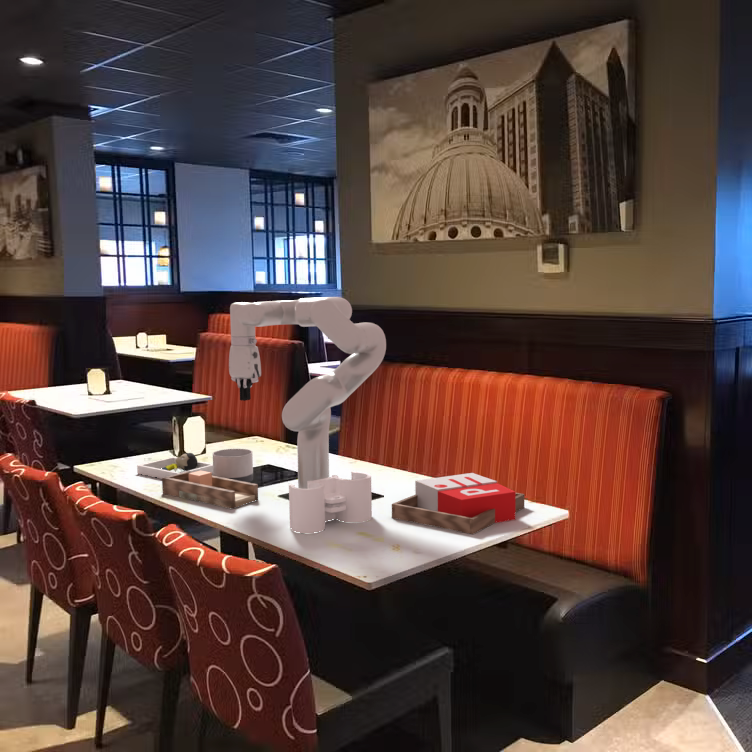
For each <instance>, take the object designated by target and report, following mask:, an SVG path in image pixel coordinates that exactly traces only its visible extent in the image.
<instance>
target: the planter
mask: <svg viewBox="0 0 752 752" xmlns="http://www.w3.org/2000/svg"><path fill="white" fill-rule="evenodd" d="M253 461H254V460H253V451H252V450H251V449H246V448H226V449H219V450H216V451H214V452H212V464H213V474H212V475H213V476H218V477H223V478H228V479H233V480H238V481H243V482H248V483H252V482H253V480H254V463H253Z"/></svg>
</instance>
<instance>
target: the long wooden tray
mask: <svg viewBox="0 0 752 752" xmlns="http://www.w3.org/2000/svg"><path fill="white" fill-rule="evenodd" d="M182 472H183V473H181V472H178V473H179V474H175V475H171V476H167V477H163V478H162V479H161V488H162V494H163V495H169V496H173V497H178V498H183V499H186V500H192V501H195V502H199V501H200V502H199V503H203V502H204V504H207V505H214V506H218V507H222V508H227V509H230V508H231V510H233V509H235V507H236V508H239V507H242V506H244V505H243V504H245V505H247V504H246V503H249V502H252V501H255V500H258V501H259V485H258V483H253V482H249V483H248V482H243V481H238V480H233V479H228V478H223V477H218V476H213V474H212V486H208V485H203V484H198V483H193V482H189V473H193V472H192V471H187V472H185V471H182ZM255 502H256V501H255ZM252 503H253V502H252ZM249 504H250V503H249ZM241 505H242V506H241ZM238 506H239V507H238Z"/></svg>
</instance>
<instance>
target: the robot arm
mask: <svg viewBox="0 0 752 752" xmlns="http://www.w3.org/2000/svg"><path fill="white" fill-rule="evenodd" d="M229 313H230V314H229V316H230V343H231V345H230V348H229V357H228V372H229V375H230V377H231V378H230V379H231V380H232V381H233V382H235V383H236V384H237V388H238V389H239V400H240V401H243V402H245V401H251V397H252V396H251V388H252V387H253V384H254V383H258V382H259V378H260V377H262V364H261V363H262V362H261V357H260V352H259V347H258V346H256V344H257V343H258V341H257V340H258V339H257V338H256V328H257V327H259V328H260V327H269V326H279V325H299V326H300V327H303V328H305V327H308V328H309V327H317V328H318V329H319V330H320V332H322V333H323V334H324V335H325V336H326V337H327V338H328V339H329V340H330V341H331V342H332V343H333V344H334V345H335V346H336V347H337V348H338V349H340V351H342V352H344V353H345V354H348V355H349V356H348V357H346V358H345V359H344V360H343V361H342V362H341V363H340V364H339V365H338V366H337V367H336V368H335V369H334V370H333V371H331V372H329V373H327V374H323V375H320V376H316V377H314V378H312V379H310V380H309V381H308V382H307V383H305V384H304V385H303V386H302V387H301V388H300V389H299V390H298V391H297V392H296V393H295V394H294V395H293V396H292V397H291V398H290V399H289V400H288V401H287V403H285V405H284V407H283V409H282V412H281V419H282V423H283V425H284V426H285V428H287V429H288V430H290V431H291V432H292V431H293V432H298V433H297V440H296V443H297V448H296V449H297V481H298V482H297V483H298V484H297V488H301V489H307V481H314V480H319V479H324V478H329V477H330V455H329V453H330V451H329V449H330V447H329V446H330V445H329V444H330V443H329V442H330V441H329V439H330V437H329V436H330V434H329V433H330V425H331V418H332V417H331V416H332V410H331V408H333V407H335V406H339V405H341V404H342V403H344V402H345V401H346V400H347V399H348V398H349V397H350V396H351V395H352V394H353V393H354V392H355V391H356V390H357V389H358V388H359V387H360V386H362V384H363V383H364V382H365V381H366V380H367V379H368V378H369V377H370V376H371V375H373V373H374V372H375V371H376V370H377V369H378V368H379V366H380V365H381V363H382V362H383V361H384V357H385V355H386V350H387V339H386V334H385V333H384V330H383V329H382V328H381V327H380V326H379V325H378V324H375V323H374V322H364V321H363V322H359V323H356V322H355V323H354V322H353V321H351V317H352V315H353V314H352V313H353V308H352V305H351V302H349V301H348V300H347V299H346V298H344V297H341V296H326V297H304V298H303V297H302V298H298V299H294V300H272V301H271V300H269V301H267V300H266V301H257V302H255V301H254V302H245V301H244V302H243V301H241V302H233V303H231V304H230V307H229Z"/></svg>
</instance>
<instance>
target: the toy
mask: <svg viewBox="0 0 752 752" xmlns="http://www.w3.org/2000/svg"><path fill="white" fill-rule="evenodd" d="M197 461H198V459H197V457H196V455H195V454H194V453H192V452H183V454H182V455H180V456H177V459H176V464H171V465H168V466H166V465H165V466H166V467H164V468H162V469H163V470H168V471H172V470H173V471H174V472H177V470H178V468H180V470H182V471H183V472H185V471H189V470H193V469H195V468H196V467H197Z"/></svg>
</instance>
